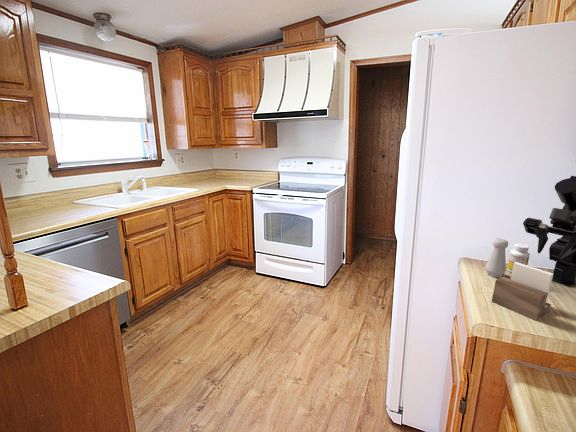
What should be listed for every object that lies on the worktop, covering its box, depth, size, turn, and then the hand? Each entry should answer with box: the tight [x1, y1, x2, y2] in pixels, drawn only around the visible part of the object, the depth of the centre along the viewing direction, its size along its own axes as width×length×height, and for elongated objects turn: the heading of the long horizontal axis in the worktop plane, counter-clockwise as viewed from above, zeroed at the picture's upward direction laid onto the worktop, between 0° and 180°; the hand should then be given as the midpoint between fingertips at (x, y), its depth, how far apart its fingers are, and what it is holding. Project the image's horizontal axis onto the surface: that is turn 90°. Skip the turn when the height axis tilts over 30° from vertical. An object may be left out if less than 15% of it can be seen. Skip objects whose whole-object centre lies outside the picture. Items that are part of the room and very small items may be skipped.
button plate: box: [510, 262, 553, 301], centre depth 89 cm, size 2×9×8 cm, turn 32°
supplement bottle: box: [506, 243, 530, 273], centre depth 109 cm, size 5×5×10 cm
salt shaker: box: [485, 238, 509, 279], centre depth 106 cm, size 6×6×13 cm
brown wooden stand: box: [491, 276, 552, 321], centre depth 88 cm, size 8×11×7 cm
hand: (548, 255), depth 92 cm, fingers open, 5 cm apart
